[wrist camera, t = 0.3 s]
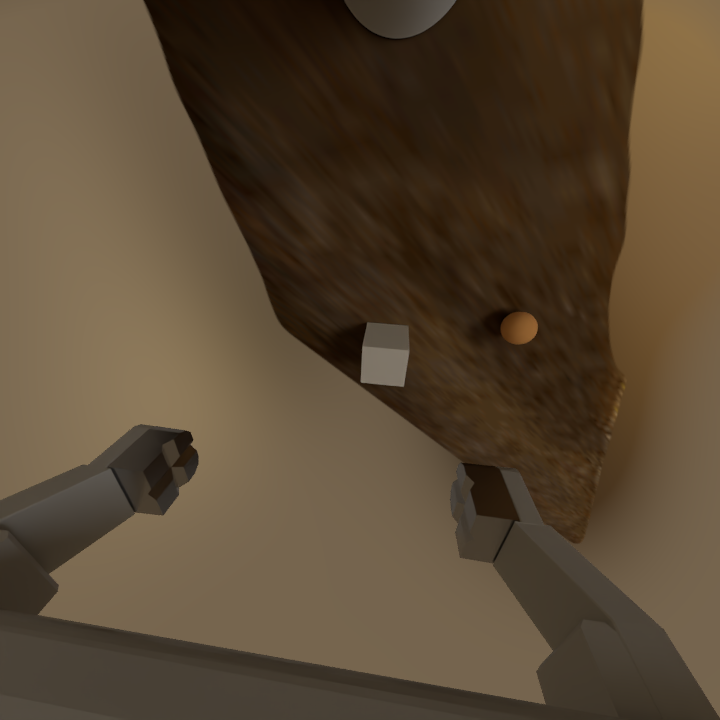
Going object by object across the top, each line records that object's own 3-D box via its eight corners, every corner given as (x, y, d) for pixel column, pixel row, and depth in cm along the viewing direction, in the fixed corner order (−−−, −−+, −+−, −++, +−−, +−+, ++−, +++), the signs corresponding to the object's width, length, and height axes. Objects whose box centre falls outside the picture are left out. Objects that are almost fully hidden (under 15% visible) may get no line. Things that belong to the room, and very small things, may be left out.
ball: (502, 304, 45) (512, 319, 41) (535, 307, 44) (549, 322, 40) (492, 332, 48) (501, 348, 44) (523, 335, 47) (535, 351, 43)
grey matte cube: (367, 322, 49) (362, 346, 43) (408, 325, 49) (409, 350, 42) (365, 355, 53) (360, 382, 47) (403, 359, 53) (403, 386, 46)
